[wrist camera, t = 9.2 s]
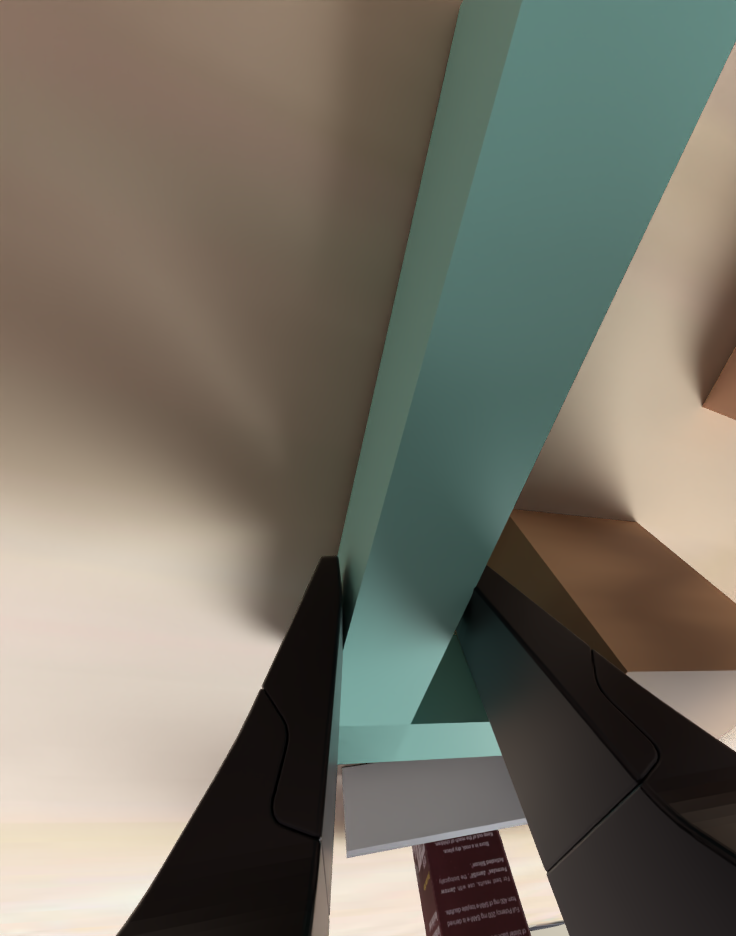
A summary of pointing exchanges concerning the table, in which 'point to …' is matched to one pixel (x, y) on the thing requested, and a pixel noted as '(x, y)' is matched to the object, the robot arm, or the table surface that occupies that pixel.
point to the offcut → (724, 390)
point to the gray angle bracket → (426, 802)
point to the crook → (500, 324)
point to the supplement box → (468, 887)
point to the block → (629, 606)
